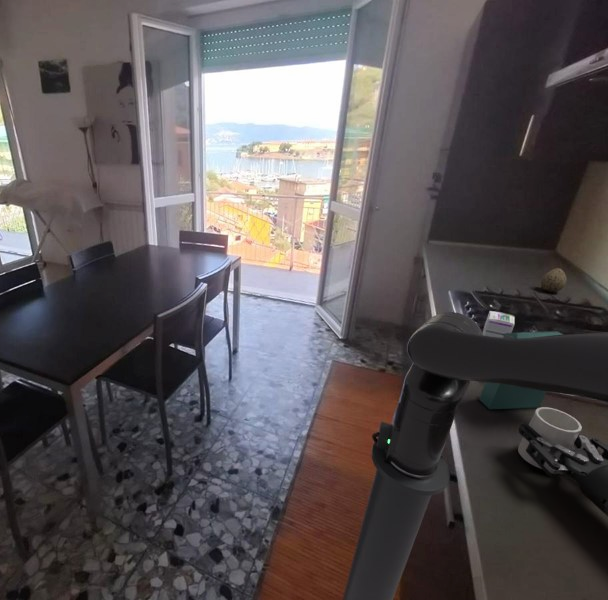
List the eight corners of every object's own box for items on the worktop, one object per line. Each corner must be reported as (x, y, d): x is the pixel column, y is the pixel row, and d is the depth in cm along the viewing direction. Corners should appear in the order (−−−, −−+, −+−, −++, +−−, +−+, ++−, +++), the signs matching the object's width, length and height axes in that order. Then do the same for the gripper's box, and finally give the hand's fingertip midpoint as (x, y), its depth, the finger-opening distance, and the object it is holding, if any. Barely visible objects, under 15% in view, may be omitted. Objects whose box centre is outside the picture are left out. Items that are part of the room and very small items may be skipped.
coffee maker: (478, 399, 87) (504, 333, 79) (526, 397, 88) (557, 331, 80) (510, 429, 79) (543, 358, 70) (563, 427, 79) (602, 356, 71)
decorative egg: (566, 294, 140) (576, 270, 136) (551, 296, 139) (562, 272, 134) (546, 287, 146) (556, 264, 142) (532, 289, 145) (542, 266, 141)
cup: (521, 463, 70) (540, 424, 65) (514, 440, 75) (532, 403, 71) (564, 476, 67) (587, 436, 63) (554, 451, 72) (574, 413, 68)
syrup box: (498, 369, 98) (516, 324, 92) (472, 362, 101) (488, 317, 95) (498, 360, 102) (516, 315, 96) (473, 353, 105) (489, 309, 99)
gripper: (691, 486, 54) (582, 409, 69) (598, 490, 54) (509, 412, 69) (665, 518, 57) (567, 438, 72) (577, 522, 57) (497, 441, 72)
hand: (539, 426), depth 70 cm, fingers closed on cup, 6 cm apart
